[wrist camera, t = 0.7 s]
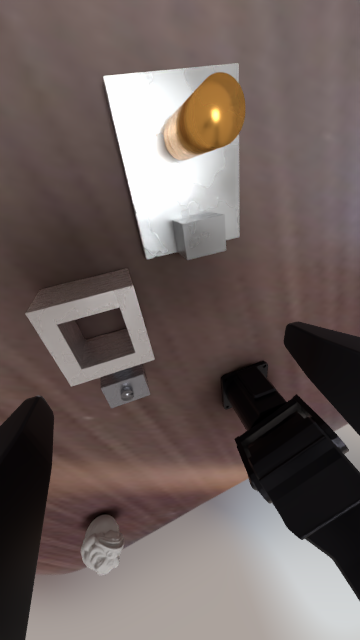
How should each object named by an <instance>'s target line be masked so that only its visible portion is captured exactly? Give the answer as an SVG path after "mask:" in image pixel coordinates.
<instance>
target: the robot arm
mask: <svg viewBox="0 0 360 640" xmlns="http://www.w3.org/2000/svg"><path fill="white" fill-rule="evenodd" d="M284 345H285V347H286V348H287V350H288V351H289V352H290V354H291V355H292V356H293V358H294V359H295V361H296V362H297V363H298V365H299V366H300V367H301V369H302V370H303V371H304V373H305V374H306V375H307V377H308V378H309V379H310V380H311V382H312V383H313V384H314V385H315V386H316V387H317V388H318V389H319V391H320V392H321V393H322V394H323V395H324V396H325V397H326V398H327V400H328V401H329V402H330V403H331V404H332V405H333V406H334V407H335V409H336V410H337V411H338V412H339V413H340V414H341V415H342V416H343V417H344V419H345V420H346V421H347V422H348V423H349V424H350V425H351V426H352V427H353V429H354V430H355V431H356V432H357V433H358V434H359V435H360V337H357V336H353V335H349V334H345V333H341V332H337V331H333V330H329V329H325V328H322V327H318V326H314V325H310V324H306V323H302V322H293V323H290V324H288V325H287V326H286V330H285V336H284ZM267 369H268V364H267V363H266V362H260V363H258V364H255V365H252V366H249V367H246V368H244V369H241V370H238V371H235V372H232V373H229V374H227V375H224V376H222V378H221V385H222V399H223V407H224V409H229V408H232V407H233V408H234V410H235V412H236V413H237V415H238V417H239V419H240V420H241V422H242V424H243V425H244V427H245V429H246V430H247V431H246V432H245V433H244V434H242V435H241V436H240V437H239V436H238V437H237V438H235V441H236V444H237V449H238V451H239V454H240V456H241V458H242V461H243V463H244V466H245V468H246V471H247V474H248V477H249V481H250V484H251V486H252V488H253V489H254V490H257V491H259V492H260V493H261V495H262V496H263V497H264V499H265V500H266V501H267V502H268V503H273V504H274V506H275V508H276V509H277V511H278V512H279V514H280V516H281V517H282V519H283V521H284V523H285V525H286V526H287V527H288V529H289V530H290V531H292V533H294V534H295V535H296V536H297V537H298V538H300V539H301V540H303V539H306V540H307V541H309V542H310V543H312V544H313V545H314V546H316V547H317V548H318V549H320V550H321V551H322V552H324V553H325V554H327V555H328V556H329V557H330V558H332V560H333V561H334V562H335V564H336V565H337V567H338V568H339V570H340V571H341V573H342V574H343V576H344V577H345V579H346V581H347V582H348V584H349V585H350V587H351V588H352V590H353V591H354V593H355V594H356V596H357V598H358V599H359V600H360V472H359V471H358V470H357V469H356V468H355V467H354V465H353V464H352V463H351V462H350V461H349V460H348V459H347V457H346V456H345V455H344V454H345V453H347V452H348V451H349V449H348V448H347V447H346V445H345V444H344V443H343V441H342V440H341V439H340V438H339V437H338V436H337V434H336V433H335V432H334V431H333V430H332V429H331V428H330V427H329V426H328V425H327V424H326V423H325V422H324V421H323V420H322V419H321V418H320V417H319V416H318V415H317V414H316V413H315V412H314V411H313V410H312V409H311V408H310V407H309V406H308V405H307V404H306V403H305V402H304V401H303V400H302V399H301V398H300V397H299V396H298V395H297V394H296V395H295V396H294V397H293V398H292V399H291V400H290V401H288V402H286V401H285V399H284V398H283V397H282V396H281V395H280V394H279V392H278V391H277V390H276V389H275V387H274V386H273V385H272V384H271V383H270V382H269V380H268V379H267ZM53 429H54V415H53V411H52V410H51V408H50V407H49V405H48V404H47V402H46V401H45V399H44V398H43V397H42V396H35V397H32V398H28V399H26V400H25V401H24V402H23V403H22V404H21V405H20V406H19V407H18V408H17V409H16V410H15V411H14V412H13V413H12V414H11V416H10V417H9V418H8V419H7V420H6V421H5V422H4V423H3V424H2V425H1V426H0V640H25V637H26V631H27V624H28V618H29V612H30V605H31V598H32V592H33V585H34V579H35V573H36V566H37V560H38V553H39V547H40V540H41V534H42V527H43V521H44V514H45V508H46V501H47V495H48V488H49V482H50V475H51V468H52V453H53Z"/></svg>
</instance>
